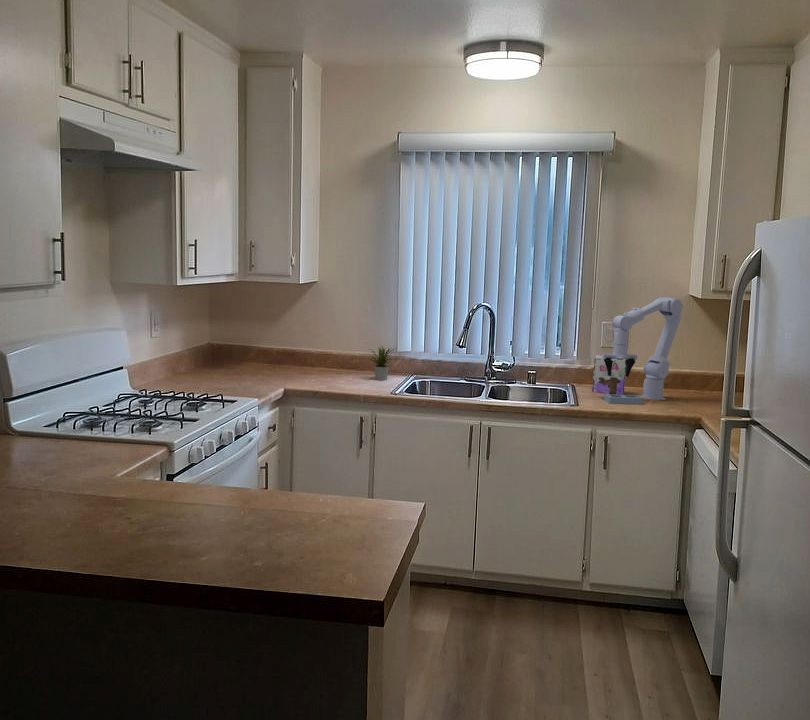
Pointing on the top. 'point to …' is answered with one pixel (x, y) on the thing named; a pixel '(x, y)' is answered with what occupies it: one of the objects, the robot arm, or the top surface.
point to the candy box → (603, 380)
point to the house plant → (381, 364)
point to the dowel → (613, 385)
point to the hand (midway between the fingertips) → (618, 376)
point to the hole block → (623, 399)
